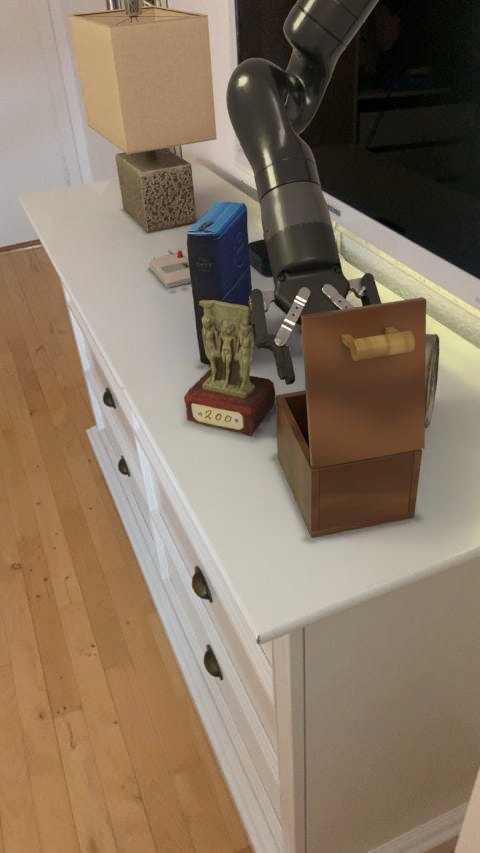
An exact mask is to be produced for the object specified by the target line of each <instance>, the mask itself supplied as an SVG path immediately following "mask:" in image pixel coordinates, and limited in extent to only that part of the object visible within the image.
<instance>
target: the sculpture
mask: <svg viewBox="0 0 480 853" xmlns="http://www.w3.org/2000/svg"><path fill="white" fill-rule="evenodd" d="M199 304H200V305H201V306H202V307H203V308H204V316H203V317H202V324H203V328H202V335H203V343H204V348H205V353H206V356H207V358H208V359H209V361H210V363H211V365H210V369H208V370H207V371H206V372H205V373H204V375H202V377H200V378H199V379H198V380H197V381H196V382H195V383H194V385H192V387H191V388H189V389H188V391H187V392H186V393H185V395H184V398H183V399H184V404H185V414H186V419H187V420H188V421H190V422H194V423H198V424H203V425H207V426H211V427H216V428H219V429H223V430H226V431H232V432H236V433H239V434H244V435H248V436H253V434H254V433H255V431H256V430H257V428H258V427H259V426H261V424H262V422H263V421H264V419H265V418H266V417H267V416H268V415H269V413H270V412H271V411H272V410H273V409H274V406H275V404H276V391H275V390H276V389H275V382H273V381H272V380H271V379H270V378H265V377H260V376H255V375H251V374H250V372H251V365H252V362H253V354H254V347H255V346H254V340H253V333H252V326H251V319H250V311H249V307H247V306H244V305H237V304H230V303H225V302H220V301H216V300H201V301H199Z"/></svg>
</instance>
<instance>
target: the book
mask: <svg viewBox="0 0 480 853" xmlns="http://www.w3.org/2000/svg"><path fill="white" fill-rule="evenodd" d="M248 226H249V225H248V207H247V205H246V203H245V202H235V201H234V202H233V201H215V202H214V203H213V204H212V205H211V207H210V209H209V210H207V211H206V212H205V213H204V214H203V215H202V217H200V218H199V219H198V220H197V222H196V223H193V225H192V226H191V227H190V228H189V229H188V230H187V232H186V237H187V238H186V250H187V251H186V252H187V258H188V261H189V269H190V278H191V283H190V286H191V294H192V295H191V296H192V300H193V302H192V303H193V311H194V322H195V329H196V330H195V331H196V339H197V345H198V351H199V361H200V363H201V364H203V365H206V366H211V363H210V361H209V359H208V358H207V356H206V353H205V348H204V343H203V335H202V328H203V324H202V317H203V316H204V308H203V307H202V306H201V305H200V304H199V301H201V300H216V301H220V302H225V303H230V304H237V305H244V306H247V307H249V304H248V300H249V297H250V295H251V292H252V290H253V286H252V284H253V283H252V271H251V270H252V269H251V266H252V264H251V256H250V243H249V228H248Z"/></svg>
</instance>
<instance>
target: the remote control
mask: <svg viewBox="0 0 480 853" xmlns="http://www.w3.org/2000/svg"><path fill="white" fill-rule="evenodd" d="M168 253H169V254H166V255H165V254H164V255H162V256H157V257H153V258H151V259H150V260H149V261H148V262H149V268H150V270H151V271H152V272H153V273H154V275H156V277H157V278H158V279H159V280H160V281H161V282H162V283H163V284H164V286H165V287H166V288H168V289H169V288H172V287H178V286H182V285H187V284H191V278H190V269H189V261H188V256H186V255H185V254H184V253H183V251H182V250H179V249H178V250H177V251H176V253H174V252H173V251H171V250H168Z"/></svg>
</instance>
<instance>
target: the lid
mask: <svg viewBox="0 0 480 853" xmlns="http://www.w3.org/2000/svg"><path fill="white" fill-rule="evenodd" d="M301 322H302V329H301V335H302V350H303V352H302V354H303V367H304V368H303V369H304V383H305V384H304V385H305V390H306V401H307V417H308V433H309V449H310V464H311V466H312V468H318V467H324V466H330V465H335V464H341V463H346V462H352V461H357V460H363V459H368V458H374V457H379V456H385V455H390V454H396V453H401V452H407V451H412V450H418V449H422V450H423V449H425V446H426V444H425V443H426V442H425V441H426V438H425V437H426V434H425V433H426V431H425V430H426V429H425V363H426V334H427V299H426V298H425V297H422V296H421V297H415V298H409V299H402V300H396V301H388V302H381V304H374V305H367V306H363V305H362V306H354V308H347V309H341V310H334V311H327V312H321V313H314V314H307V315H302V316H301Z"/></svg>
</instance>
